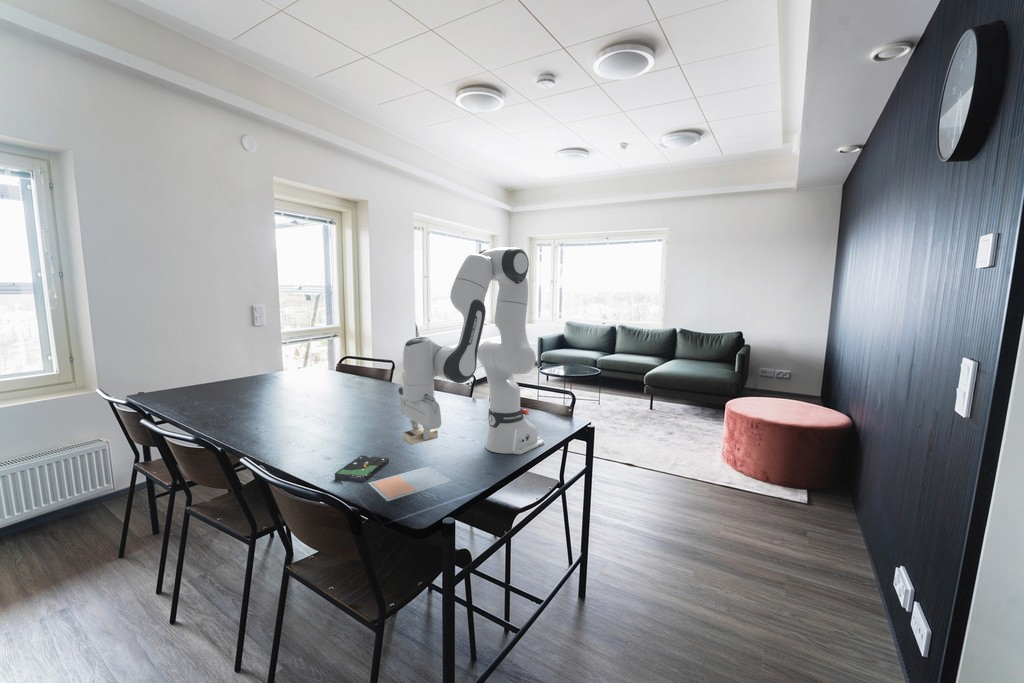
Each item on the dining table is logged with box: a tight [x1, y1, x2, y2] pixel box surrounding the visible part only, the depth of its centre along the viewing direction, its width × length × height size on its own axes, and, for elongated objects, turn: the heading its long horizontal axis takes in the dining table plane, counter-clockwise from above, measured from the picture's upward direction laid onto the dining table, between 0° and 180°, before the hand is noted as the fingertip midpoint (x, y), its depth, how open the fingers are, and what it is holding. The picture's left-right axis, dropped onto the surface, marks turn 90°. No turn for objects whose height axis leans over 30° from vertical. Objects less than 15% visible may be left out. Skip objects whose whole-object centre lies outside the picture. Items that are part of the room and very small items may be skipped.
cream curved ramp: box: [402, 427, 439, 446], centre depth 131 cm, size 9×5×3 cm, turn 129°
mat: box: [367, 465, 452, 502], centre depth 126 cm, size 20×14×1 cm
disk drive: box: [334, 454, 390, 483], centre depth 134 cm, size 10×3×15 cm
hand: (420, 435), depth 131 cm, fingers closed on cream curved ramp, 5 cm apart
